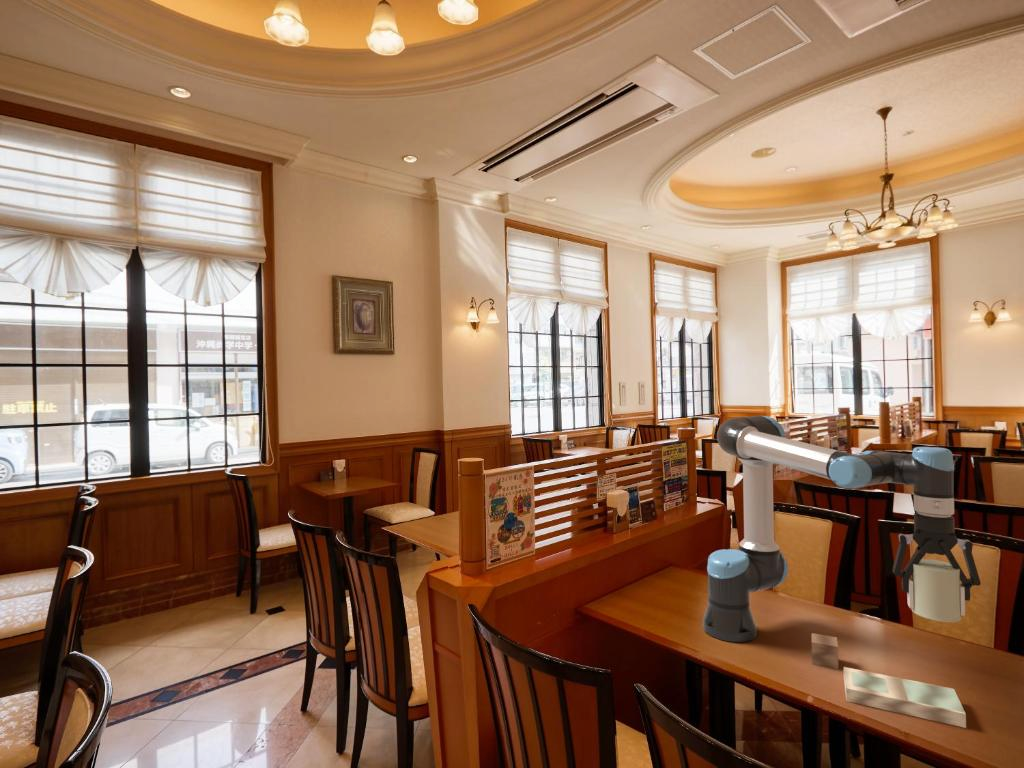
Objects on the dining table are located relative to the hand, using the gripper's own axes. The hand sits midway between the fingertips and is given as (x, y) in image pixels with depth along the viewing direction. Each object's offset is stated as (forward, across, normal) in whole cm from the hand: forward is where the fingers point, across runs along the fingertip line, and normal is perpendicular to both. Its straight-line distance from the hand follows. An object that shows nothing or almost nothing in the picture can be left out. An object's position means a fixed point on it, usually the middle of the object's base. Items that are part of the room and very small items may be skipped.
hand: (935, 609), depth 127 cm
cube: (+22, -22, +10) cm, 32 cm away
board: (+21, -8, -4) cm, 23 cm away
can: (+1, 0, 0) cm, 1 cm away
